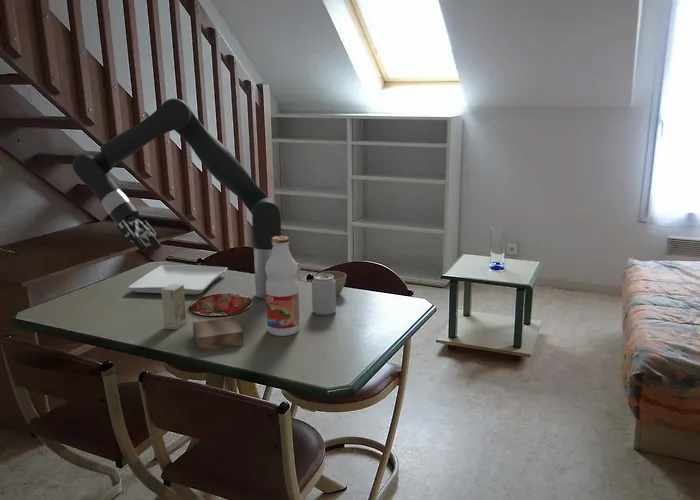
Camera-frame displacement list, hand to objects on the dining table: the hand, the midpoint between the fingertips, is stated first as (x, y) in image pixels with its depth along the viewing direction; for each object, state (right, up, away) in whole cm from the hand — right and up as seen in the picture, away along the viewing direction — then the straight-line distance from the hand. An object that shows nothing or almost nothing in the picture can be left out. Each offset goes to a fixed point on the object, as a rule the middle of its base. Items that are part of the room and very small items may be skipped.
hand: (151, 249), depth 186 cm
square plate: (-1, -13, +37) cm, 39 cm away
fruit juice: (+41, -24, -7) cm, 48 cm away
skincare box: (+8, -23, -3) cm, 25 cm away
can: (+52, -20, +8) cm, 56 cm away
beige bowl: (+54, -16, +24) cm, 61 cm away
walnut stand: (+23, -26, -14) cm, 37 cm away
